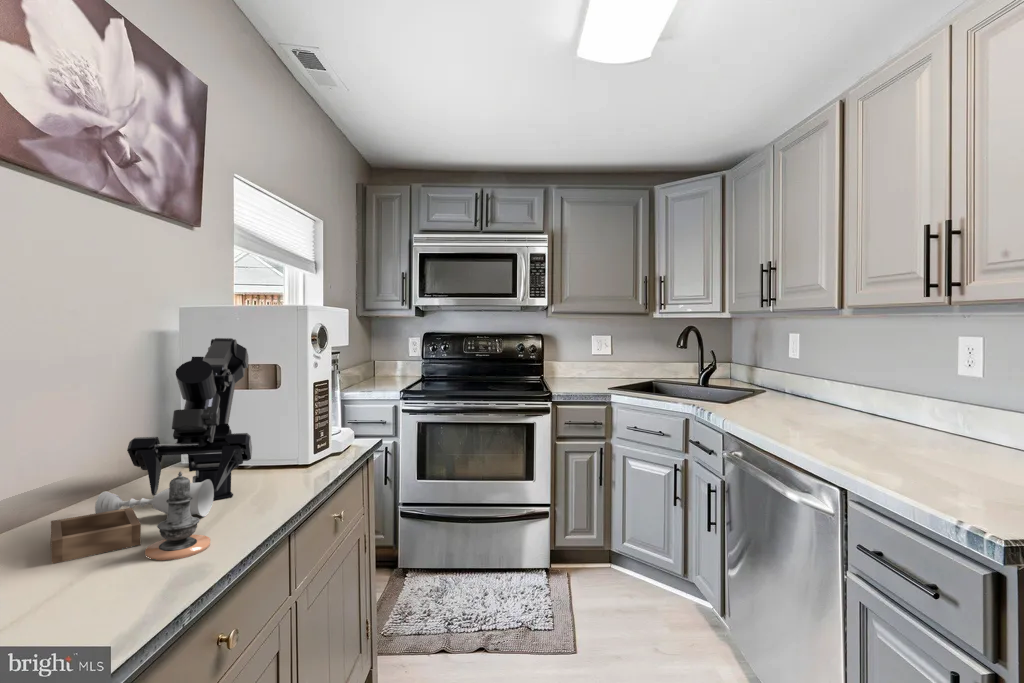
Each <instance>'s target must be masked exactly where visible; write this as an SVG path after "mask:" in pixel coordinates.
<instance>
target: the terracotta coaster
mask: <svg viewBox="0 0 1024 683" xmlns="http://www.w3.org/2000/svg"><path fill="white" fill-rule="evenodd" d="M190 537H192V538H195V539H196V540H197V543H196V544H195V545H193V546H191V547H188V548H185V549H181V550H175V551H164V550H160V549H159V545H160V544H162V543H163V542H164V541H166V539H164V538H163V539H161V540H158V541H155V542H153V543H152V544H150V545H148V546H147V547H146V548H145V550H144V551H145V552H144V556H145V555H146V556H147V557H149V558H151V559H150V560H152V559H156V560H155V561H173V560H179V559H183V558H189V557H192V556H196V555H197V554H200V553H202V552H203V551H206V550H207V549H208V548H209V547H210V546H211V538H210V537H209V536H207V535H203V534H192V535H191V536H190ZM146 556H145V557H146ZM147 557H146V558H147ZM149 558H148V559H149Z"/></svg>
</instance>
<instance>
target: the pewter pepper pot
mask: <svg viewBox="0 0 1024 683" xmlns="http://www.w3.org/2000/svg"><path fill="white" fill-rule="evenodd" d="M177 475H178V476H176V477H174V478H172V479H171V480H170V481H169V485H168V486H169V487H168V488H169V499H168V500H167V501H166V502H167V503H168V514H167V516H166V519H165V520H162V521H160V522H159V523H158V524H157V526H156V528H157V529H158V530H159V534H160V536H161V537H162V538H163V539H166V541H164V542H163V543H162V544H160V545H159V549H160V550H164V551H175V550H181V549H185V548H188V547H191V546H193V545H195V544H196V543H197V540H196V539H195V538H192V537H190V536H191V535H194V533H195V532H196V530H197V528H198V524H199V523H200V521H201V520H200V518H199V517H196V516H193V515H191V513H190V501H191V500H192V497H190V483H191V480H190V479H189V478H188V477H185V476H183V472H182V471H179V472H178V473H177Z"/></svg>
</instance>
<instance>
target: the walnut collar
mask: <svg viewBox="0 0 1024 683" xmlns="http://www.w3.org/2000/svg"><path fill="white" fill-rule="evenodd" d="M141 526H142V525H141V522H140V520H139V518H138V517H137V515H136V512H135V511H134V509H133V507H132V508H130V507H126V508H122V509H121V508H120V510H114V511H108V512H102V513H96V512H95V513H90V514H85V515H80V516H79V515H78V516H72V517H67V518H61V519H55V520H50V557H51V558H50V559H51V564H52V565H54V564H57V563H62V562H68V561H73V560H76V559H81V558H86V556H87V557H91V556H90V555H92V556H95V555H94V554H96V555H100V554H99V553H101V554H105V553H104V552H106V553H109V552H108V551H111V552H114V551H113V550H116V551H118V550H117V549H120V550H123V549H122V548H125V549H127V548H126V547H130V548H132V547H131V546H135V545H139V546H141V534H142V532H141V531H142V527H141ZM135 547H136V546H135ZM72 559H73V560H72Z"/></svg>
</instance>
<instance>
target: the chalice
mask: <svg viewBox="0 0 1024 683" xmlns="http://www.w3.org/2000/svg"><path fill="white" fill-rule="evenodd" d="M190 497H192V500H191V501H190V513H191V516H193V515H198V516H200V517H206V516H207V515H208V514H209V513H210V511H211V509H212V506H213V504H214V500H213V498H214V488H213V484H212V481H211V480H210V479H207V480H205V481H203V482H198V483H193V482H190ZM168 499H169V487H168V488H166V489H164V490H162V491H160V492H158V493H156V495H155V496H153V498H151V499H149V498H145V497H142V498H140V499H138V500H137V499H135V498H130V499H129V500H122V498H121V496H119V495H118V494H116V493H113V492H112V493H111V492H109V491H107V490H106V491H102V492H101V493H100V494H99V495H98V496H97V498H96V502H95V506H94V512H95V514H96V513H102V512H108V511H114V510H120V509H121V508H122V507H128V508H132V509H133V507H135V506H140V507H144V506H147V505H152V509H154V510H156V511H159V512H162V513H164V514H165V515H166V514H167V515H168V503H167V502H166V501H167V500H168Z"/></svg>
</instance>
